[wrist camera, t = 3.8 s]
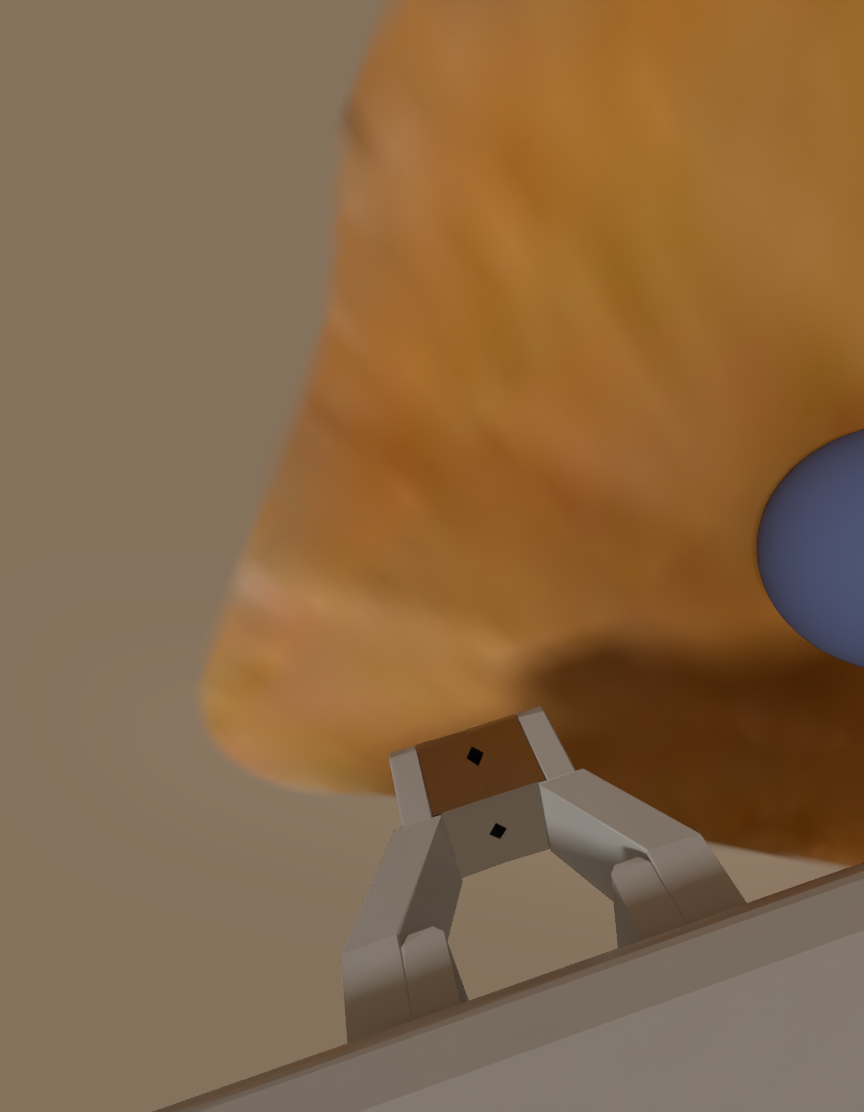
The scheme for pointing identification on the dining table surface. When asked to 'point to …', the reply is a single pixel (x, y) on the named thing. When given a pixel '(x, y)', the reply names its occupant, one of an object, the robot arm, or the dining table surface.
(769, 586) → the ball
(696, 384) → the dining table surface
